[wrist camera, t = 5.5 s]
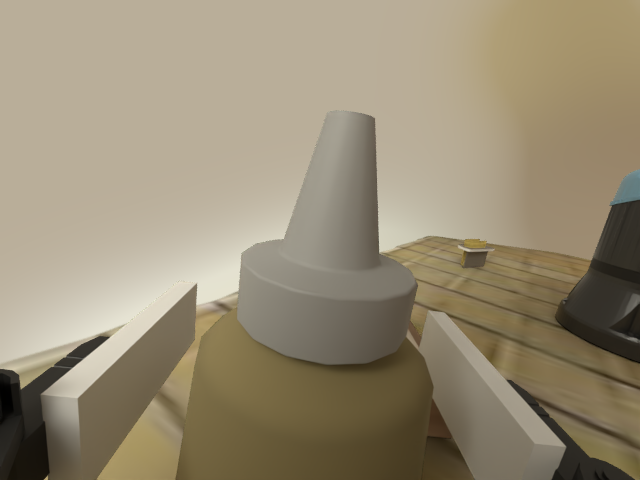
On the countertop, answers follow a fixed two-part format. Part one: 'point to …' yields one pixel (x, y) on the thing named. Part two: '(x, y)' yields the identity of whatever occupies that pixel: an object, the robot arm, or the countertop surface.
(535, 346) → the countertop surface
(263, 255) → the squeeze bottle
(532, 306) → the countertop surface
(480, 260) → the platform
